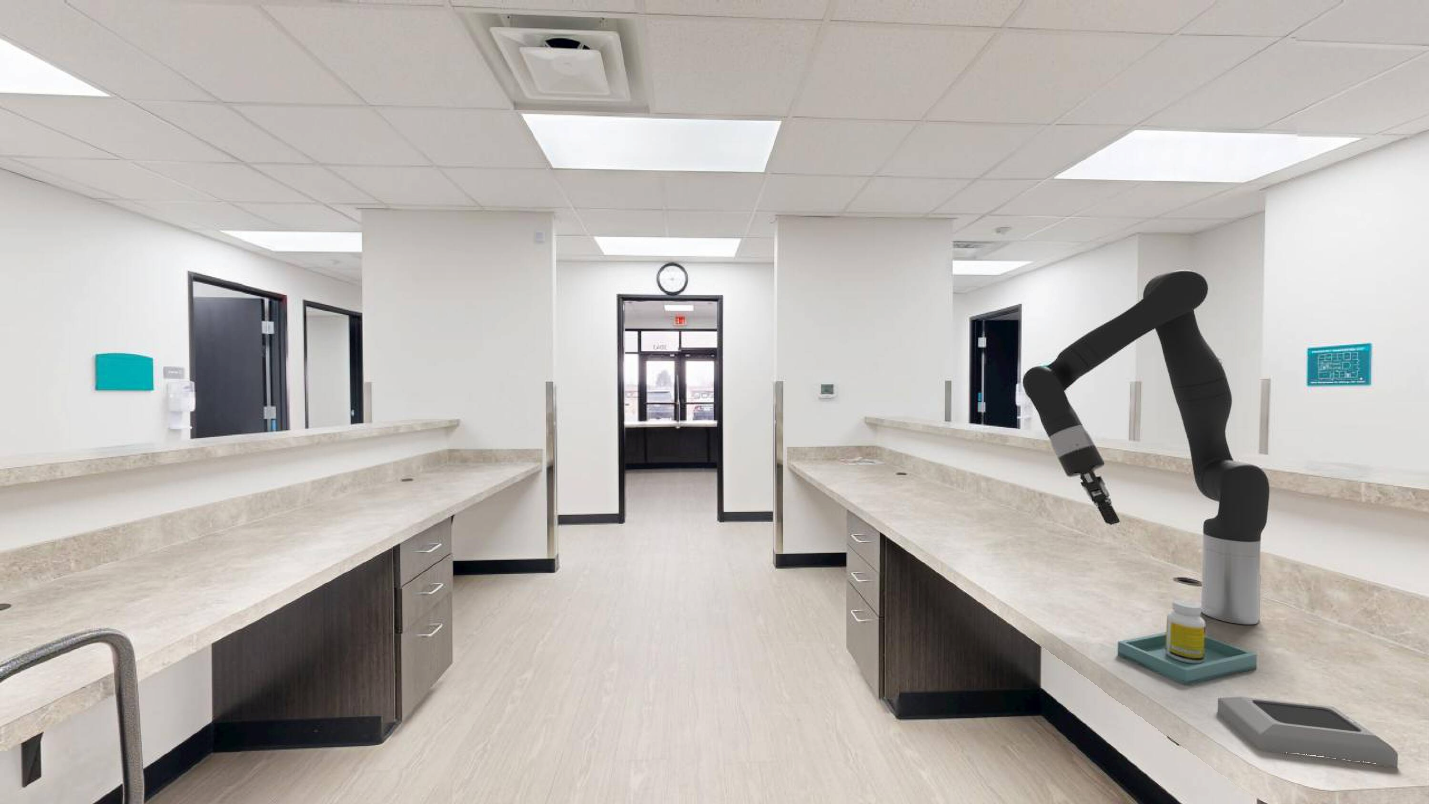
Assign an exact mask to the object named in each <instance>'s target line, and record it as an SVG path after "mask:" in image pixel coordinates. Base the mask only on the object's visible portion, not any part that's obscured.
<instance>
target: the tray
mask: <svg viewBox="0 0 1429 804" xmlns="http://www.w3.org/2000/svg"><path fill="white" fill-rule="evenodd" d="M1117 656H1119V657H1121V658H1123V659H1126V660H1128V661H1130V662H1132V663H1134V664H1137V665H1139V666H1141V665H1142V666H1141V667H1143V666H1144V668H1146V669H1148V670H1150V671H1152V672H1155V673H1158V674H1160V675H1161V676H1163V677H1166V678H1168V679H1171V680H1172V681H1175V682H1177V683H1180V684H1182V685H1184V686H1190V685H1193V684H1197V683H1203V682H1206V681H1211V680H1214V679H1218V678H1223V677H1227V676H1230V675H1235V674H1239V673H1243V672H1247V671H1251V670H1255V669H1257V662H1258V660H1257V659H1258V655H1257V653H1255V652H1251V651H1249V650H1246V649H1244V648H1241V647H1238V646H1236V645H1235V646H1234V645H1232V644H1230V643H1227V642H1224V641H1221V640H1219V639H1216V638H1213V637H1210V636H1207V635H1205V649H1204V661H1203V662H1202V663H1199V664H1193V663H1186V662H1182V661H1179V660H1176V659H1174V658H1172V657H1170V656H1169V655H1167V653H1166V632H1165V631H1164V632H1161V633H1154V634H1150V635H1144V636H1139V637H1135V638H1130V639H1125V640H1119V641H1117Z"/></svg>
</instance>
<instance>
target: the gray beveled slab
mask: <svg viewBox="0 0 1429 804" xmlns="http://www.w3.org/2000/svg"><path fill="white" fill-rule="evenodd" d="M1217 713H1218V714H1219V715H1220V716H1221V717H1222V718H1223V719H1224V720H1226V721H1227V722H1228V723H1229V724H1230V725H1231V726H1232V727H1233V728H1234V729H1236V730H1237V731H1238V732H1239V733H1240V734H1241V735H1242V736H1243V737H1244V738H1246V740H1248V742H1250V743H1251V744H1252V745H1253V746H1254V747H1255V748H1257V750H1259V751H1263V752H1264V751H1265V752H1270V753H1271V752H1273V753H1280V754H1287V753H1299V754H1305V755H1306V754H1307V755H1316V756H1324V757H1329V758H1336V759H1345V760H1351V761H1360V762H1363V761H1364V762H1370V763H1376V764H1379V765H1378V766H1383V765H1386V766H1385V767H1392V768H1398V766H1399V765H1398V763H1399V761H1398V760H1399V754H1398V752H1397V751H1396V750H1395V748H1394V747H1392V745H1390V744H1389V743H1388V742H1386V741H1385V740H1383V739H1381V738H1380V737H1379V736H1377V735H1376V734H1375V733H1373V731H1371V730H1368V729H1367V728H1365V727H1364V726H1363V725H1361V724H1360V723H1358V722H1357V721H1355V720H1354V719H1353V718H1350V717H1349V715H1346V714H1345V713H1343V712H1342V711H1340V710H1339V709H1338V708H1336V707H1334V706H1329V705H1323V704H1322V705H1321V704H1311V703H1301V702H1293V701H1285V700H1277V699H1276V700H1274V699H1268V698H1267V699H1266V698H1256V697H1248V696H1247V697H1246V696H1229V697H1228V696H1226V697H1225V696H1224V697H1218V698H1217ZM1286 752H1287V753H1286ZM1351 761H1350V762H1351Z"/></svg>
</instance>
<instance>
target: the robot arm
mask: <svg viewBox="0 0 1429 804" xmlns="http://www.w3.org/2000/svg"><path fill="white" fill-rule="evenodd" d="M1207 282H1208V281H1207V280H1206V278H1205V277H1204V276H1203V275H1202V274H1201V273H1198V272H1196V271H1193V270H1188V269H1179V270H1173V271H1170V272H1165V273H1161V274H1158V275H1156V276H1154V277H1153V278H1151V279H1150V280H1149V281H1147V284H1146V285H1145V286H1144V289H1143V293H1142V298H1141V300H1139V301H1138V302H1137V303H1136V304H1134V305H1133V306H1131V307H1130V308H1128V309H1127V310H1126V311H1124V312H1122V313H1120V314H1119V315H1117V316H1115V317H1114V318H1112V319H1111V320H1109V321H1107V322H1105V323H1103V324H1101V325H1099V326H1098V327H1096V328H1094V329H1093V330H1091V331H1089V332H1088V333H1085V334H1084V335H1083V336H1081V337H1080V338H1078V339H1077V340H1075V341H1074V342H1073V343H1071V344H1069V345H1068V346H1067V347H1066V348H1064V349H1063V350H1062V351H1060V352H1059V354H1058V355H1056V359H1055V360H1053V361H1052V362H1051V363H1049V364H1048V365H1047V366H1042V365H1039V366H1034V367H1032V368H1029V369H1028V370H1026V372H1025V373H1024V376H1023V379H1022V386H1023V389H1024V392H1025V394H1026V396H1027V398H1029V399H1030V400H1031V403H1032V405H1033V406H1034V409H1035V410H1036V411H1037V414H1038V416H1039V419H1040V422H1041V425H1042V427H1043V429H1044V431H1045V432H1046V436H1047V437H1048V438H1049V441H1050V443H1051V447H1052V449H1053V451H1054V453H1055V455H1056V457H1057V459H1058V461H1059V463H1060V465H1061V467H1062V469H1063V470H1064V473H1065V474H1066V476H1067V477H1068V478H1071V477H1072V478H1073V477H1077V476H1080V477H1079V478H1080V480H1082V481H1081V482H1080V485H1081V486H1082V488H1083V490H1084V491H1085V493H1086V495H1087V496H1088V498H1089V499H1090V500H1091V502H1092V503H1093V504H1094V505H1095V507H1097V509H1098V511H1099V513H1100V515H1101V516H1102V518H1103V521H1104V523H1105V524H1108V525H1110V526H1112V525H1115V524H1119V523H1120V522H1121V521H1120V518H1119V516H1118V514H1117V513H1116V510H1115V509H1114V507H1113V504H1112V503H1113V502H1112V501H1111V500H1112V499H1111V498H1109V497H1110V493H1109V491H1108V489H1107V488H1106V486H1105V485H1106V483H1105V481H1104V480H1103V478H1102V476H1101V475H1099V476H1097V475H1096V474H1095V471H1096V470H1098V469H1100V468H1102V467H1104V466H1105V461H1104V460H1103V457H1102V455H1101V454H1100V452H1099V450H1098V448H1097V447H1096V445H1095V443H1094V441H1093V439H1092V437H1091V435H1090V434H1089V433H1088V431H1087V430H1086V428H1085V427H1084V426H1083V424H1082V422H1081V420H1080V417H1079V416H1078V415H1077V412H1076V411H1075V409H1074V408H1073V406H1072V405H1071V403H1070V402H1069V398H1068V397H1067V395H1066V392H1065V391H1066V390H1067V389H1068V388H1069V387H1071V386H1072V385H1073V384H1074V383H1075V382H1077V380H1079V379H1080V378H1081V377H1083V376H1084V375H1086V374H1088V373H1089V372H1091V371H1092V370H1094V369H1095V368H1096V367H1098V366H1100V365H1101V364H1103V363H1104V362H1105V361H1107V360H1109V359H1110V358H1112V357H1113V356H1114V355H1115V354H1117V353H1118V352H1120V351H1121V350H1123V349H1125V348H1126V347H1128V346H1129V345H1130V344H1132V343H1133V342H1135V341H1136V340H1138V339H1140V338H1142V337H1143V336H1144V335H1147V334H1149V332H1151V331H1153V330H1155V332H1156V334H1157V336H1158V339H1159V342H1160V346H1161V350H1162V354H1163V359H1164V362H1165V365H1166V370H1167V372H1168V376H1169V377H1168V378H1169V381H1170V385H1171V388H1172V391H1173V392H1172V393H1173V394H1174V398H1175V402H1176V405H1177V407H1178V409H1179V413H1180V417H1181V420H1182V424H1183V428H1184V432H1185V434H1186V438H1187V441H1188V446H1189V451H1190V458H1191V465H1192V470H1193V475H1194V482H1195V484H1196V486H1197V488H1198V490H1199V492H1200V493H1201V494H1202V495H1203V496H1204V497H1206V498H1207V499H1210V500H1212V501H1215V502H1219V503H1218V509H1217V514H1216V516H1215V517H1212V518H1208V519H1207V518H1206V520H1204V521H1203V524H1202V527H1203V528H1202V565H1201V567H1202V569H1201V570H1202V571H1201V597H1200V598H1201V599H1200V600H1201V601H1200V606H1201V614H1203V615H1206V616H1208V617H1209V618H1213V619H1215V620H1219V621H1223V622H1226V623H1231V624H1232V623H1233V624H1238V625H1256V624H1258V623H1259V619H1261V587H1262V586H1261V585H1262V583H1261V582H1262V576H1261V575H1262V574H1261V540H1262V533H1263V531H1264V529H1265V527H1266V526H1267V523H1268V522H1267V521H1268V511H1269V501H1270V483H1269V479H1268V476H1267V474H1266V472H1265V471H1264V470H1263V469H1262V468H1260V467H1259V466H1257V465H1254V464H1251V463H1247V462H1243V461H1236V460H1234V458H1233V457H1232V453H1231V451H1230V448H1229V445H1228V441H1227V436H1226V429H1227V423H1228V420H1229V418H1230V413H1231V409H1232V404H1233V396H1232V392H1231V389H1230V384H1229V381H1228V378H1227V374H1226V371H1225V369H1224V367H1223V365H1222V363H1221V362H1220V360H1219V359H1218V357H1217V355H1216V354H1215V352H1214V351H1213V349H1212V348H1211V346H1209V344H1208V343H1207V341H1206V340H1205V338H1204V336H1203V334H1202V333H1201V331H1200V329H1199V325H1198V321H1197V319H1196V314H1195V310H1196V309H1197V308H1199V307H1200V306H1201V305H1202V304H1203V302H1204V301H1205V299H1206V297H1207V296H1208V291H1209V285H1208V283H1207Z"/></svg>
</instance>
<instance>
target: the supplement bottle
mask: <svg viewBox="0 0 1429 804" xmlns="http://www.w3.org/2000/svg"><path fill="white" fill-rule="evenodd" d="M1171 604H1172V607H1171V608H1172V611H1169V612H1168V613H1167V615H1166V653H1167V655H1169V656H1170V657H1172V658H1174V659H1176V660H1179V661H1182V662H1186V663H1193V664H1199V663H1202V662H1203V661H1204V649H1205V636H1206V621H1205V619H1203V617H1200V616H1201V614H1202V611H1201V604H1199V603H1196V602H1194V601H1189V600H1185V599H1174V600H1172V603H1171Z"/></svg>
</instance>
